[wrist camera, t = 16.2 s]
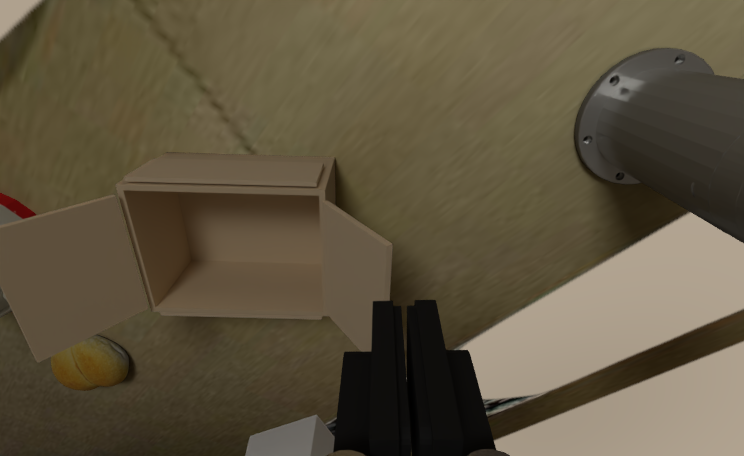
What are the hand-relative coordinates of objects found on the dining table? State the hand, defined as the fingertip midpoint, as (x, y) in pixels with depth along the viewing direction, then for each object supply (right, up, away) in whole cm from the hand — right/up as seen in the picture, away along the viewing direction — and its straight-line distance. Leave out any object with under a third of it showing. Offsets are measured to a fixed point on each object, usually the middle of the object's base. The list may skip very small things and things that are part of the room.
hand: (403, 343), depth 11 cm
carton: (-13, +5, +33) cm, 35 cm away
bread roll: (-38, -14, +43) cm, 59 cm away
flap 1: (-22, +1, +25) cm, 33 cm away
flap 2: (-5, 0, +25) cm, 25 cm away
